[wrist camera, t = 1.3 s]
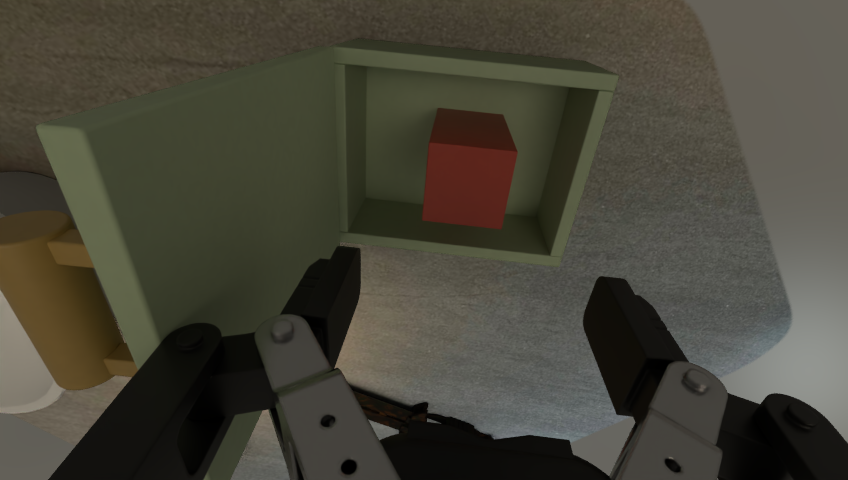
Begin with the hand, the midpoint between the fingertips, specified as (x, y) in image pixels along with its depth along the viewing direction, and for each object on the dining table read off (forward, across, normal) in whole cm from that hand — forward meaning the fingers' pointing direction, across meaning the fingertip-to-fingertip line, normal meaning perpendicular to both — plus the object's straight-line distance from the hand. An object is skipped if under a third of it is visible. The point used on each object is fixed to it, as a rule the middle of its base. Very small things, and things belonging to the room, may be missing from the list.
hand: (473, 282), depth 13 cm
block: (+16, 0, 0) cm, 16 cm away
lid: (+3, +7, 0) cm, 8 cm away
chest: (+17, +1, 0) cm, 17 cm away
